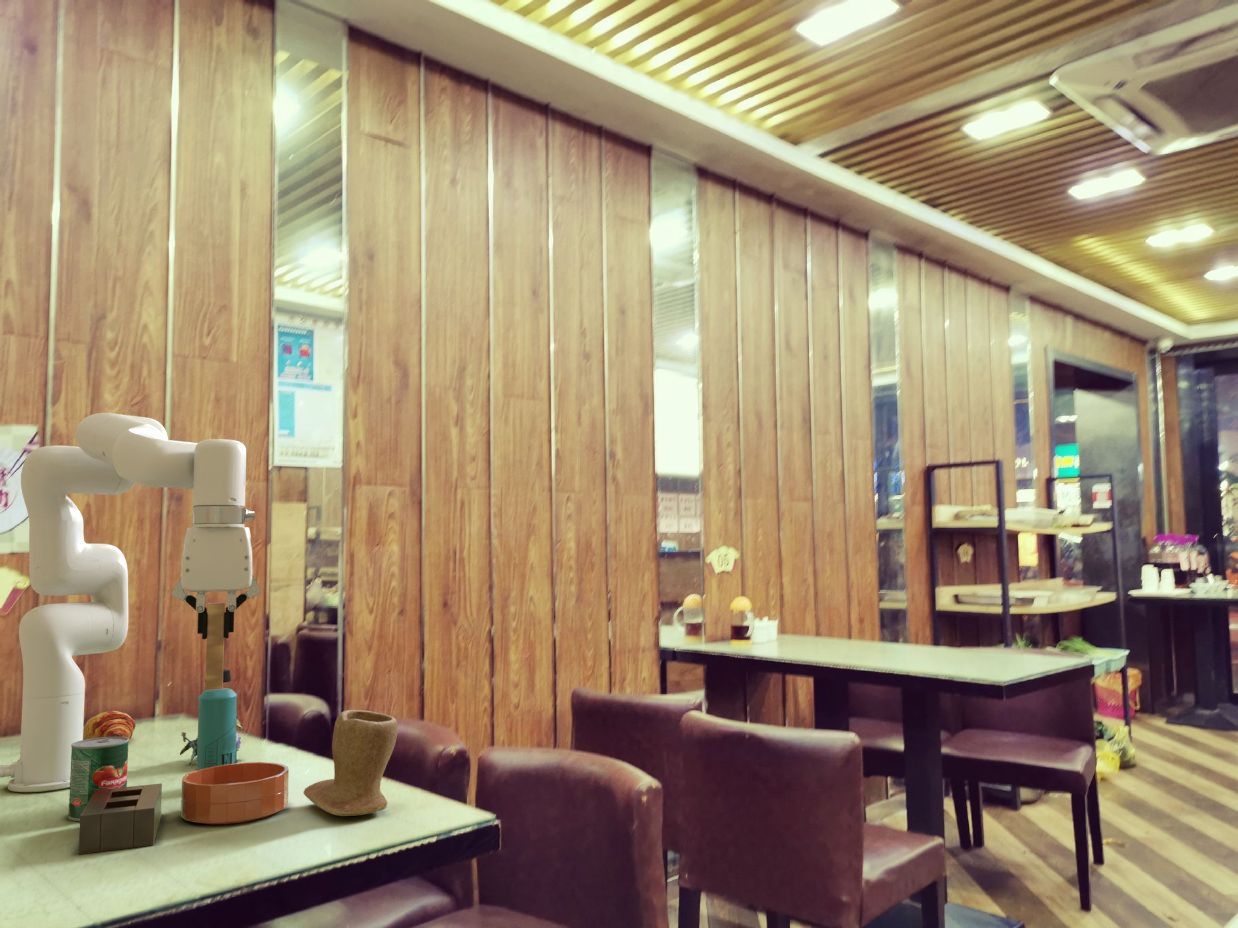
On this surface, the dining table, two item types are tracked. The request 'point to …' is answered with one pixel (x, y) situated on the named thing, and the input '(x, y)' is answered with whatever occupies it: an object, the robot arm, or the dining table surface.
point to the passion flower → (194, 744)
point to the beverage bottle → (217, 726)
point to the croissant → (109, 725)
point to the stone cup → (357, 764)
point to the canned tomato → (96, 769)
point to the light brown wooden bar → (215, 646)
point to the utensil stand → (120, 818)
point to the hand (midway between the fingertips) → (215, 637)
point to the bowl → (234, 792)
